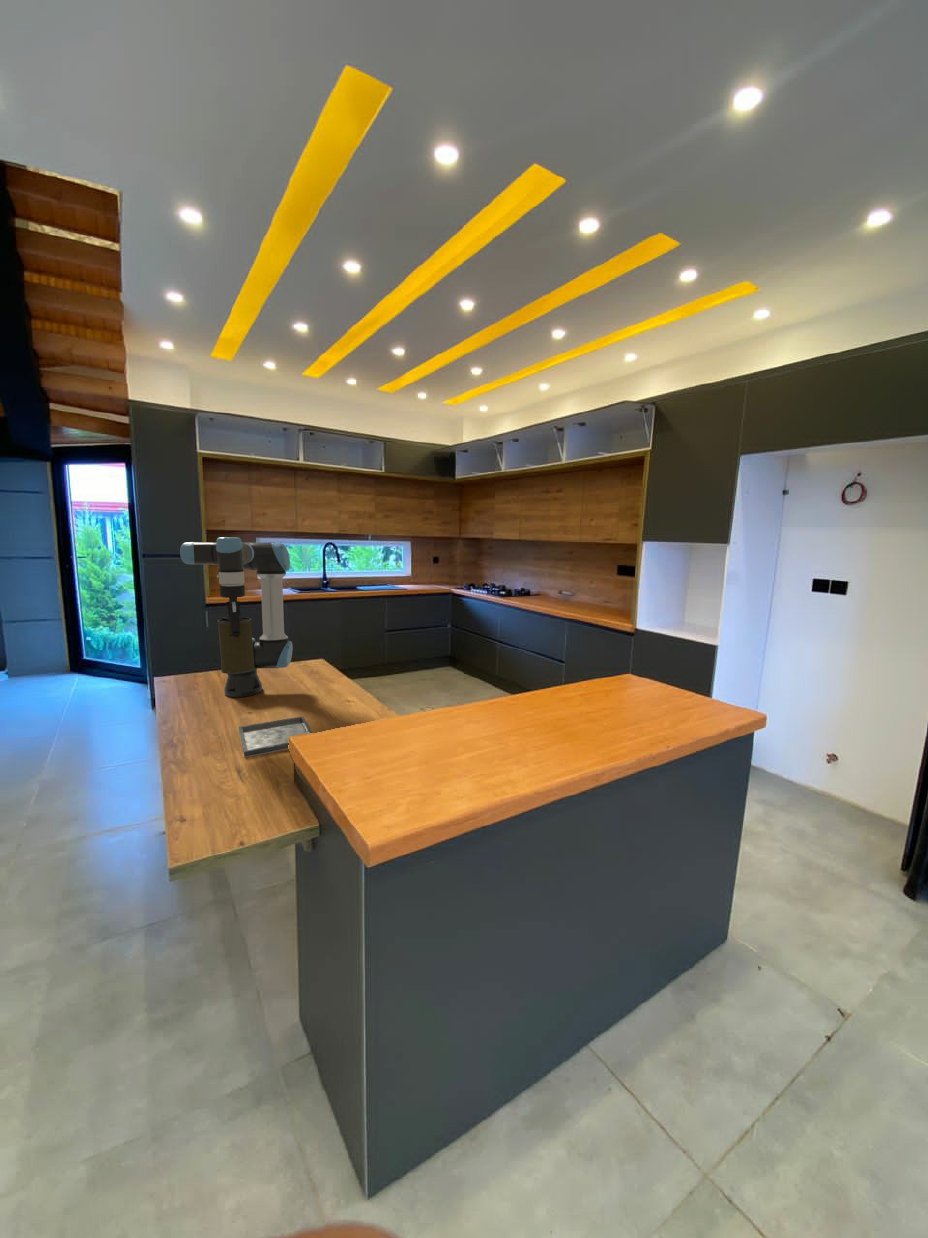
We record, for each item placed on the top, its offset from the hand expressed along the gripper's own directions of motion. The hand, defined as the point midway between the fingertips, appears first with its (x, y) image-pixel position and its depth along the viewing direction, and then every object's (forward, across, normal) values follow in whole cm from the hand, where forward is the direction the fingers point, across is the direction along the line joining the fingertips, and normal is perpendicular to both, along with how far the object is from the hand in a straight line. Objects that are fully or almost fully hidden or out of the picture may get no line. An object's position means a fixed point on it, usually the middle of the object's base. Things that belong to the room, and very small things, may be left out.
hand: (236, 653), depth 163 cm
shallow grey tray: (+29, +8, +10) cm, 32 cm away
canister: (+6, 0, 0) cm, 6 cm away
